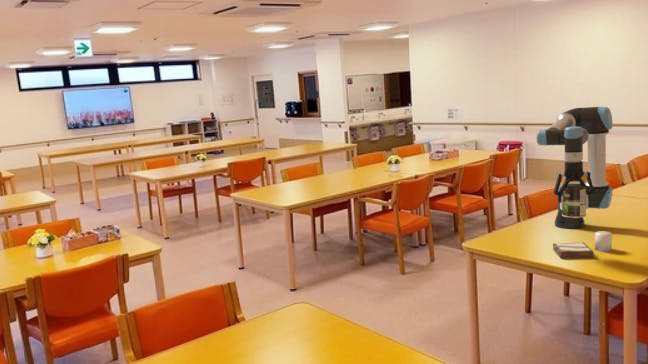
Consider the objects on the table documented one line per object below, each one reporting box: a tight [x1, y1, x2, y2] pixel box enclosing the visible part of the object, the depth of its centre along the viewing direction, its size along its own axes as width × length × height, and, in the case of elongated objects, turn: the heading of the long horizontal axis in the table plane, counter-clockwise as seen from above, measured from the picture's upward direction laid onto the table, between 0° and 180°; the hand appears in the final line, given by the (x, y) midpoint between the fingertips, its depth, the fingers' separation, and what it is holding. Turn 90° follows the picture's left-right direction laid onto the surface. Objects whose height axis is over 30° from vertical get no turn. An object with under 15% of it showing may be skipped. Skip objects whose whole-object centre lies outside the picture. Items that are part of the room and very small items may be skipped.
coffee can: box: [562, 182, 587, 219], centre depth 252 cm, size 10×10×14 cm
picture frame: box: [552, 242, 594, 260], centre depth 256 cm, size 14×14×3 cm
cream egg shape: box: [594, 230, 613, 253], centre depth 258 cm, size 7×7×8 cm
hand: (573, 208), depth 253 cm, fingers closed on coffee can, 10 cm apart
